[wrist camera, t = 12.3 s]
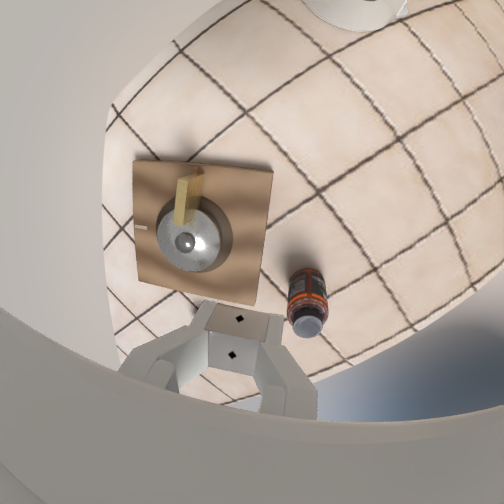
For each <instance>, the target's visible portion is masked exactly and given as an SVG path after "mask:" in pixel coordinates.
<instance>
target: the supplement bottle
mask: <svg viewBox="0 0 504 504" xmlns="http://www.w3.org/2000/svg"><path fill="white" fill-rule="evenodd" d="M287 318H288V321H289V323H290V324H291V325H292V326H293V330H294V332H295V334H296V335H298V336H300V337H302V338H312V337H315V336H317V335H318V334H319V333H320V332H321V331H322V328H323V324H324V323H325V322H326V320H327V318H328V302H327V294H326V287H325V281H324V279H323V277H322V275H321V274H320V273H318V272H317V271H315V270H311V269H303V270H300V271H298V272H296V273H295V274H294V275H293V276H292V278H291V280H290V283H289V292H288V304H287Z"/></svg>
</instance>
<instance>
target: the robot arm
mask: <svg viewBox="0 0 504 504" xmlns="http://www.w3.org/2000/svg"><path fill="white" fill-rule="evenodd" d="M302 1H303V2H304V3H305V4H306V6H307V7H308V8H309V9H310V10H311V11H312V12H313V13H314V14H315V15H316V16H318V17H319V18H320V19H322V20H324V21H325V22H327V23H329V24H331V25H334V26H336V27H339V28H342V29H346V30H350V31H358V32H367V31H374V30H377V29H380V28H382V27H384V26H385V25H387V24H388V23H389V22H390V21H392V20H393V19H397V18H403V17H405V16H407V14H408V7H407V4H406V2H407V0H302ZM269 316H270V317H269ZM283 324H284V315H279V314H272V313H270V314H269V313H263V312H258V311H252V310H247V309H243V308H238V307H234V306H229V305H225V304H220V303H215V302H211V301H206V300H205V301H203V302H202V304H201V306H200V307H199V309H198V311H197V313H196V315H195V316H194V318H193V320H192V322H191V324H190V325H189V326H186V325H185V326H183V327H181V328H179V329H176V330H174V331H172V332H170V333H168V334H165V335H163V336H161V337H159V338H157V339H154V340H152V341H150V342H148V343H145V344H143V345H141V346H138V347H136V348H134V349H133V350H132V351H131V353H130V354H129V355H128V357H127V358H126V360H125V361H124V363H123V364H122V365H121V367H120V368H119V370H118V371H114V370H112V369H110V368H108V367H105V366H103V365H101V364H99V363H97V362H94V361H92V360H90V359H88V358H86V357H84V356H82V355H80V354H78V353H76V352H74V351H72V350H70V349H68V348H66V347H64V346H62V345H60V344H59V343H57V342H55V341H53V340H51V339H50V338H48V337H46V336H44V335H43V334H41V333H39V332H38V331H36V330H34V329H33V328H31V327H30V326H28V325H26V324H25V323H23V322H22V321H20V320H19V319H17V318H16V317H14V316H13V315H11V314H10V313H8V312H7V311H6V310H4V309H3V308H1V307H0V504H504V405H501V406H497V407H493V408H489V409H485V410H481V411H477V412H471V413H466V414H461V415H455V416H448V417H441V418H433V419H424V420H414V421H398V422H339V421H322V420H317V398H318V394H317V393H318V392H317V390H316V388H315V387H314V386H313V384H312V383H311V381H310V380H309V379H308V377H307V376H306V375H305V373H304V372H303V370H302V369H301V368H300V366H299V365H298V364H297V362H296V361H295V359H294V358H293V357H292V355H291V354H290V352H289V351H288V350H287V348H286V347H285V346H282V345H281V340H282V332H283ZM266 332H267V333H266ZM208 367H212V368H217V369H222V370H227V371H232V372H236V373H240V374H244V375H249V376H254V377H253V378H254V380H255V382H256V385H257V387H258V389H259V391H260V394H261V396H262V398H261V402H260V406H259V410H258V412H253V411H247V410H242V409H237V408H233V407H228V406H224V405H219V404H215V403H211V402H207V401H203V400H200V399H196V398H192V397H189V396H185V395H182V394H179V388H181V387H182V386H184V385H185V384H186V383H188V382H189V381H191V380H192V379H193V378H195V377H196V376H198V375H199V374H200V373H202V372H203V371H204V370H206V369H207V368H208Z"/></svg>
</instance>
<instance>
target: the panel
mask: <svg viewBox="0 0 504 504" xmlns="http://www.w3.org/2000/svg"><path fill="white" fill-rule="evenodd" d="M194 172H197V173H202V174H204V180H203V187H202V193H201V200H200V208H202V209H204V210H206V211H207V212H209V213H210V214H211V215H212V216H213V217H214V218H215V219H216V221H217V222H218V224H219V226H220V228H221V232H222V239H223V241H222V247H221V250H220V252H219V254H218V256H217V257H216V259H215V260H214V262H213V263H212V264H211V265H210V266H208V267H207V268H205V269H203V270H200V271H186V270H182V269H180V268H178V267H176V266H174V265H173V264H171V263H170V262H169V261H168V260H167V259H166V258H165V256H164V255H163V253H162V252H161V250H160V247H159V244H158V240H157V231H158V227H159V224H160V222H161V220H162V219H163V218H164V216H166V215H167V214H168V213H169V212H171V211H172V210H174V209H175V200H176V191H177V182H178V179H180V178H182V177H185V176H187V175H190V174H192V173H194ZM273 173H274V172H271V171H264V170H256V169H249V168H240V167H232V166H223V165H213V164H202V163H189V162H175V161H158V160H136V161H133V218H134V235H135V249H136V260H137V270H138V279H139V281H141V282H145V283H149V284H153V285H157V286H161V287H165V288H170V289H174V290H178V291H183V292H187V293H191V294H196V295H200V296H205V297H210V298H214V299H219V300H224V301H229V302H234V303H239V304H244V305H250V306H254V305H255V302H256V296H257V290H258V283H259V276H260V268H261V261H262V254H263V247H264V240H265V232H266V225H267V218H268V210H269V203H270V195H271V188H272V180H273Z"/></svg>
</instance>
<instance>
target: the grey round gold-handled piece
mask: <svg viewBox="0 0 504 504" xmlns="http://www.w3.org/2000/svg"><path fill="white" fill-rule="evenodd" d="M203 180H204V174H202V173H197V172H194V173H192V174H190V175H187V176H185V177H182V178H180V179H178V182H177V191H176V200H175V209H174V210H172V211H171V212H169V213H168V214H167V215H166V216H164V218H163V219H162V220H161V222H160V224H159V227H158V231H157V240H158V244H159V247H160V250H161V252H162V253H163V255H164V256H165V258H166V259H167V260H168V261H169V262H170V263H171V264H173V265H174V266H176V267H178V268H180V269H182V270H186V271H200V270H203V269H205V268H207V267H208V266H210V265H211V264H212V263H213V262H214V260H215V259H216V257H217V256H218V254H219V252H220V250H221V247H222V241H223V239H222V232H221V228H220V226H219V224H218V222H217V221H216V219H215V218H214V217H213V216H212V215H211V214H210V213H209V212H207V211H206V210H204V209H202V208H200V200H201V193H202V187H203Z"/></svg>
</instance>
